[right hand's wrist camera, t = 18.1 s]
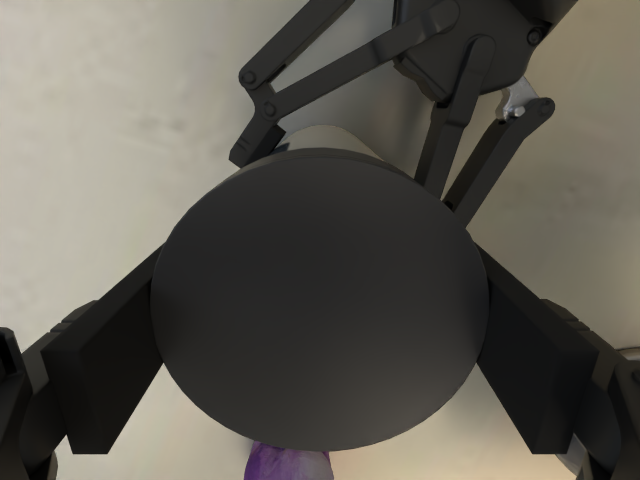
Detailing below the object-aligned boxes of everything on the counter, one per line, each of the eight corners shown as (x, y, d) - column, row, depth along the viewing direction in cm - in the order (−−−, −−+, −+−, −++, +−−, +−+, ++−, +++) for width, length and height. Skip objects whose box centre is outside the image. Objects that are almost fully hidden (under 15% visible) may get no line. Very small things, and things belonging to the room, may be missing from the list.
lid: (233, 91, 10) (211, 86, 8) (517, 222, 11) (562, 248, 9) (146, 349, 13) (113, 395, 11) (379, 430, 14) (390, 485, 12)
